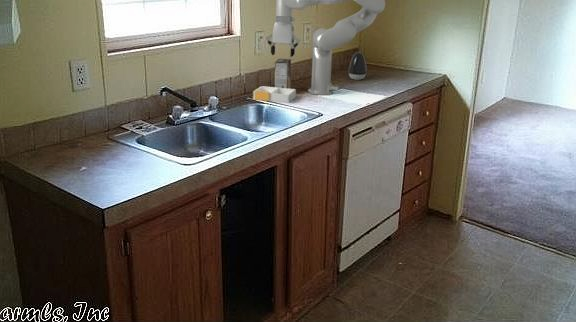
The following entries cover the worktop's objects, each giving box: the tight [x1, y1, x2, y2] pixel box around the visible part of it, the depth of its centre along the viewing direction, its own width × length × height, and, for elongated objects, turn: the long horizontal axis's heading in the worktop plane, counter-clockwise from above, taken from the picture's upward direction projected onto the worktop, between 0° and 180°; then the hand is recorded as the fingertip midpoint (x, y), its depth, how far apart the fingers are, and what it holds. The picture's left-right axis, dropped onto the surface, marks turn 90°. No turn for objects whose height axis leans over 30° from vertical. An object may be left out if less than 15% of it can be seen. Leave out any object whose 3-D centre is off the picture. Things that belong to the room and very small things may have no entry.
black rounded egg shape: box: [347, 51, 367, 81], centre depth 303 cm, size 10×10×15 cm
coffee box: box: [274, 58, 292, 89], centre depth 269 cm, size 9×6×16 cm
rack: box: [252, 85, 297, 104], centre depth 259 cm, size 18×13×4 cm
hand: (282, 55), depth 266 cm, fingers open, 9 cm apart
